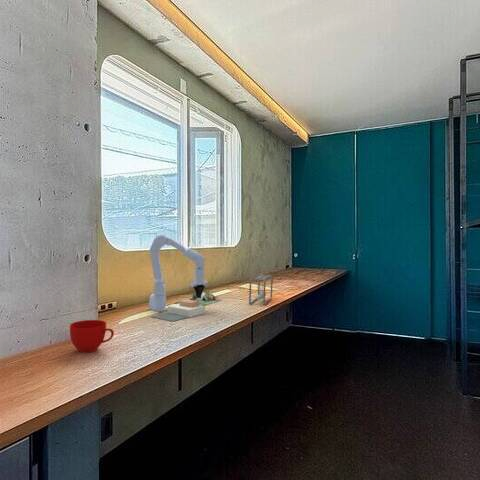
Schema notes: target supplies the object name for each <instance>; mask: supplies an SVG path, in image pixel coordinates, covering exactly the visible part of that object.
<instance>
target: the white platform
mask: <svg viewBox="0 0 480 480" xmlns="http://www.w3.org/2000/svg"><path fill="white" fill-rule="evenodd" d="M166 308H167V310H166V311H167V312H166V313H171V314H176V315H181V316H186V317H188V318H193V317H195V316H199V315H203V314H206V306H201V305H199V306H196V307H192V308H191V307H186V306H180V305H179V304H172V305H166Z"/></svg>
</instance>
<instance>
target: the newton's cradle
mask: <svg viewBox="0 0 480 480" xmlns="http://www.w3.org/2000/svg"><path fill="white" fill-rule="evenodd" d="M269 279H270V297H269V298H270V299H271V298H272V299H273V283H274V282H273V279H274V277H273V274H267V275H262V274H261V273H258V274H256V275H254V276H251V277H250V279H249V287H248V288H249V291H248V293H249V294H248V305H250V304H251V305H253V304H254V301H255V300H256V299H257V300H256V301H261V300H262V306H264V305H265V304H266V303H267V302H268V301H269V300H270V299H268V300H267V301H266V294H267V293H266V284H267V281H268V280H269ZM252 280H256V283H257V287H256V288H257V295H256V296H255V299H253V300H252V282H253V281H252ZM272 299H271V300H272ZM271 300H270V301H271ZM256 301H255V302H256ZM270 301H269V302H270ZM269 302H268V303H269ZM268 303H267V304H268ZM267 304H266V305H267ZM266 305H265V306H266Z"/></svg>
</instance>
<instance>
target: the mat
mask: <svg viewBox="0 0 480 480" xmlns="http://www.w3.org/2000/svg"><path fill="white" fill-rule="evenodd" d="M150 317H151V318H154V319H159V320H163V321H166V322H167V321H169V322H173V323H174V322H178V321H181V320H185V319H188V318H189V317H186V316H181V315H176V314H171V313H167V312H164V313H160V314H156V315H152V316H150Z"/></svg>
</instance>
